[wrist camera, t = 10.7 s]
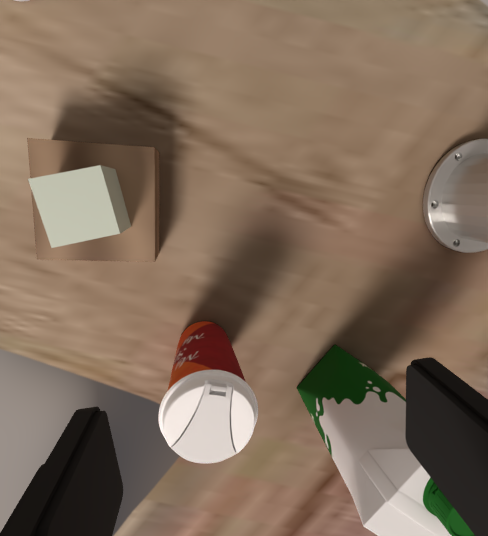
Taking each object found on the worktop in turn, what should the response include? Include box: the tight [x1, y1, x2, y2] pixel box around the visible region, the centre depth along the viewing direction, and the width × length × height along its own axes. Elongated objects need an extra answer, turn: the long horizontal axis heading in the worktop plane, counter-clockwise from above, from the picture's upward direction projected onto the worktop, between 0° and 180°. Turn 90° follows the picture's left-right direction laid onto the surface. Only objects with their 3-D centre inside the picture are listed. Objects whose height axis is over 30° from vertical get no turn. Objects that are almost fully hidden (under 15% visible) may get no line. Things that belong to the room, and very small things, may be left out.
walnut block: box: [27, 138, 159, 262], centre depth 32 cm, size 10×10×5 cm
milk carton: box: [297, 345, 475, 536], centre depth 33 cm, size 9×9×20 cm
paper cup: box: [159, 321, 258, 463], centre depth 32 cm, size 8×8×14 cm
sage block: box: [28, 165, 131, 248], centre depth 27 cm, size 5×5×5 cm
